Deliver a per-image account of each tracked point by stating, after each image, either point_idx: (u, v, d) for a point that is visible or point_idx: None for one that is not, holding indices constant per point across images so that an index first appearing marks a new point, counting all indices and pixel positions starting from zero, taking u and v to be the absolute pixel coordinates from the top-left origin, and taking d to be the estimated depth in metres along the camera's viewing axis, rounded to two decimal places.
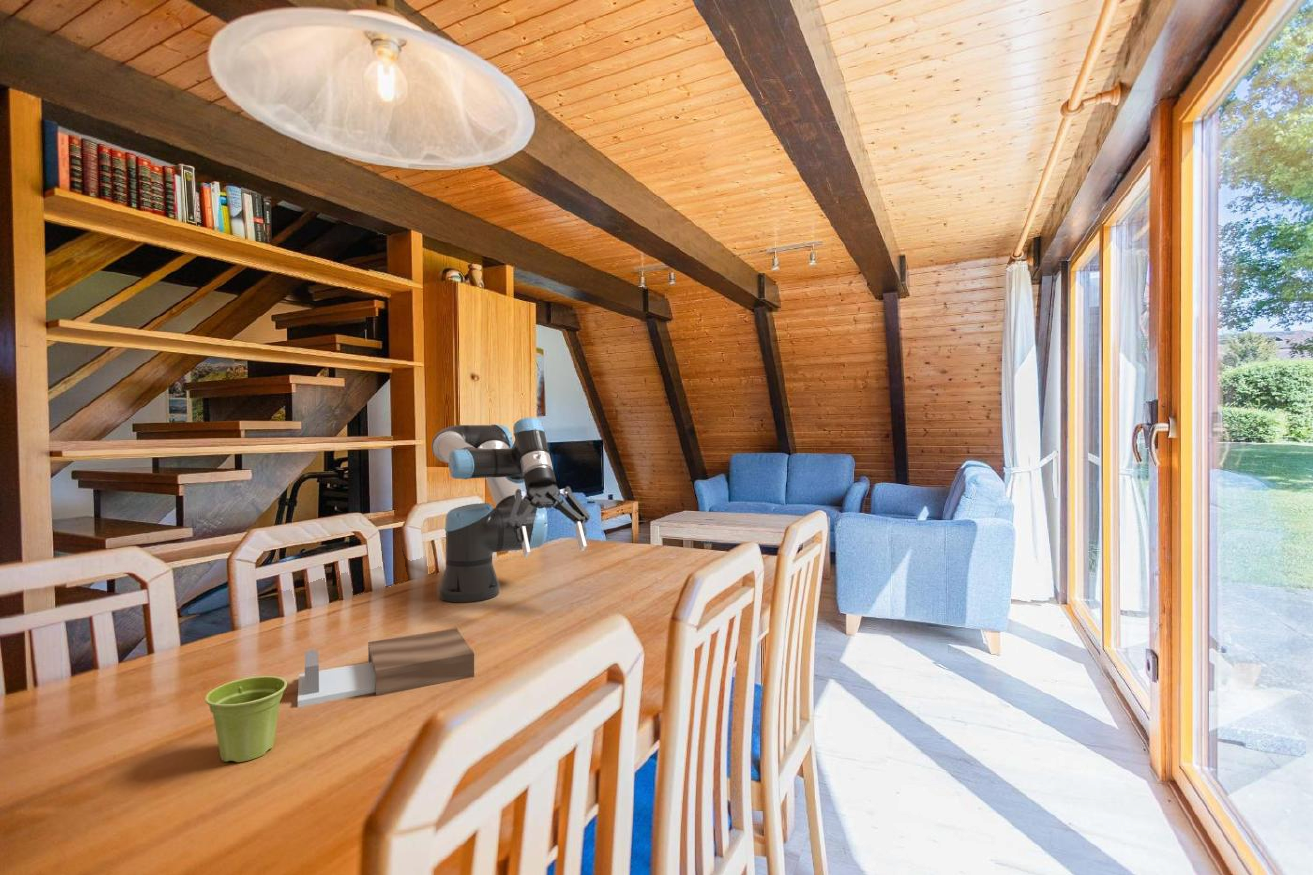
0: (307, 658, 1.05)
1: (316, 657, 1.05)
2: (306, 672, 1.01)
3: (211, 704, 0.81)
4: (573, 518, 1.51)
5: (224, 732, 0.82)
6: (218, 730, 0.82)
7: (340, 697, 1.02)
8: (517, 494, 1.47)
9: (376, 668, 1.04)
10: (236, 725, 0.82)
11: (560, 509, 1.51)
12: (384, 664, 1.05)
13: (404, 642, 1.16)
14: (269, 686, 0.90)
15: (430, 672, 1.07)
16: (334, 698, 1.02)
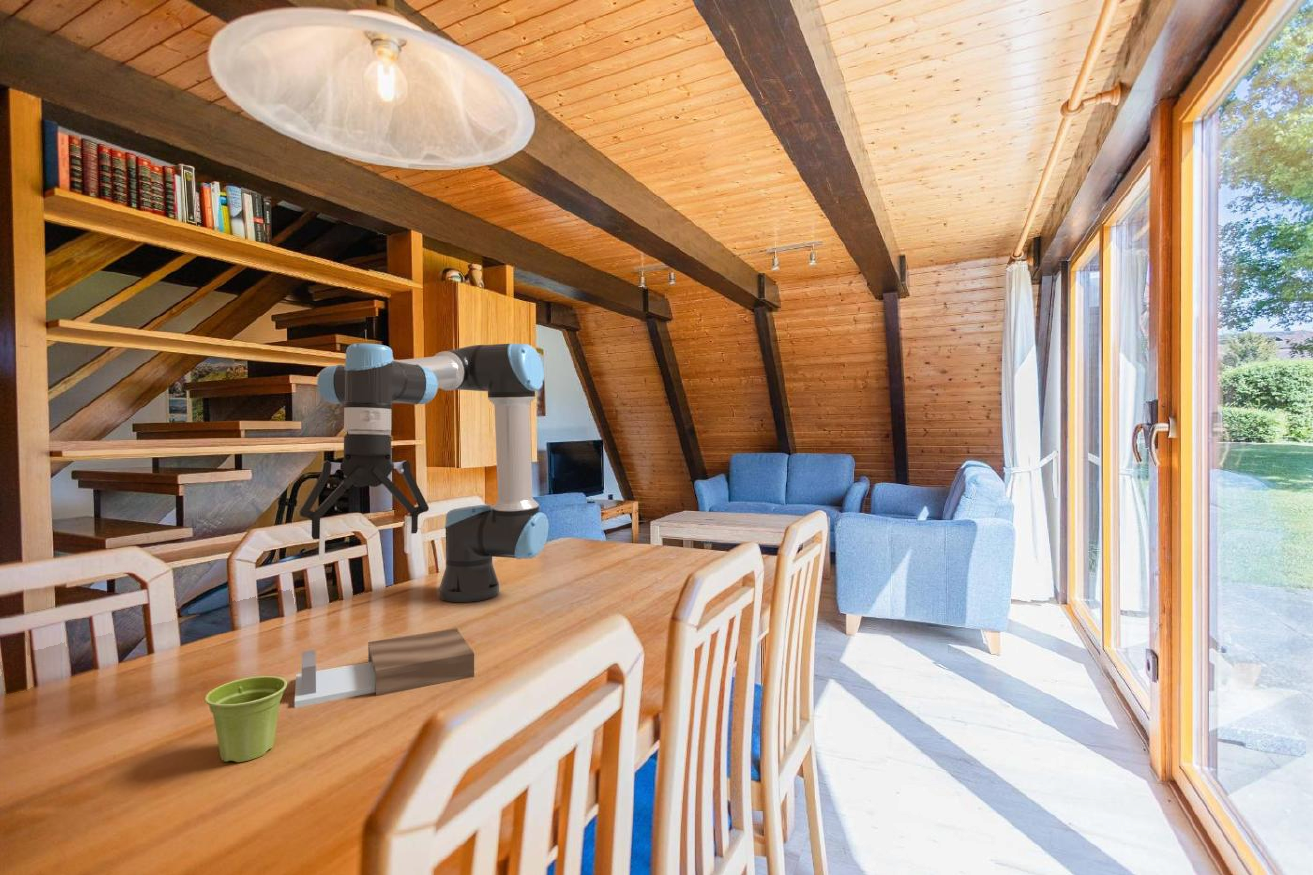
0: (304, 659, 1.05)
1: (313, 657, 1.05)
2: (303, 673, 1.01)
3: (211, 704, 0.81)
4: None
5: (224, 732, 0.82)
6: (218, 730, 0.82)
7: (337, 698, 1.02)
8: (324, 469, 1.04)
9: (376, 668, 1.04)
10: (237, 725, 0.82)
11: None
12: (384, 664, 1.05)
13: (404, 642, 1.16)
14: (269, 686, 0.90)
15: (430, 672, 1.07)
16: (331, 699, 1.01)
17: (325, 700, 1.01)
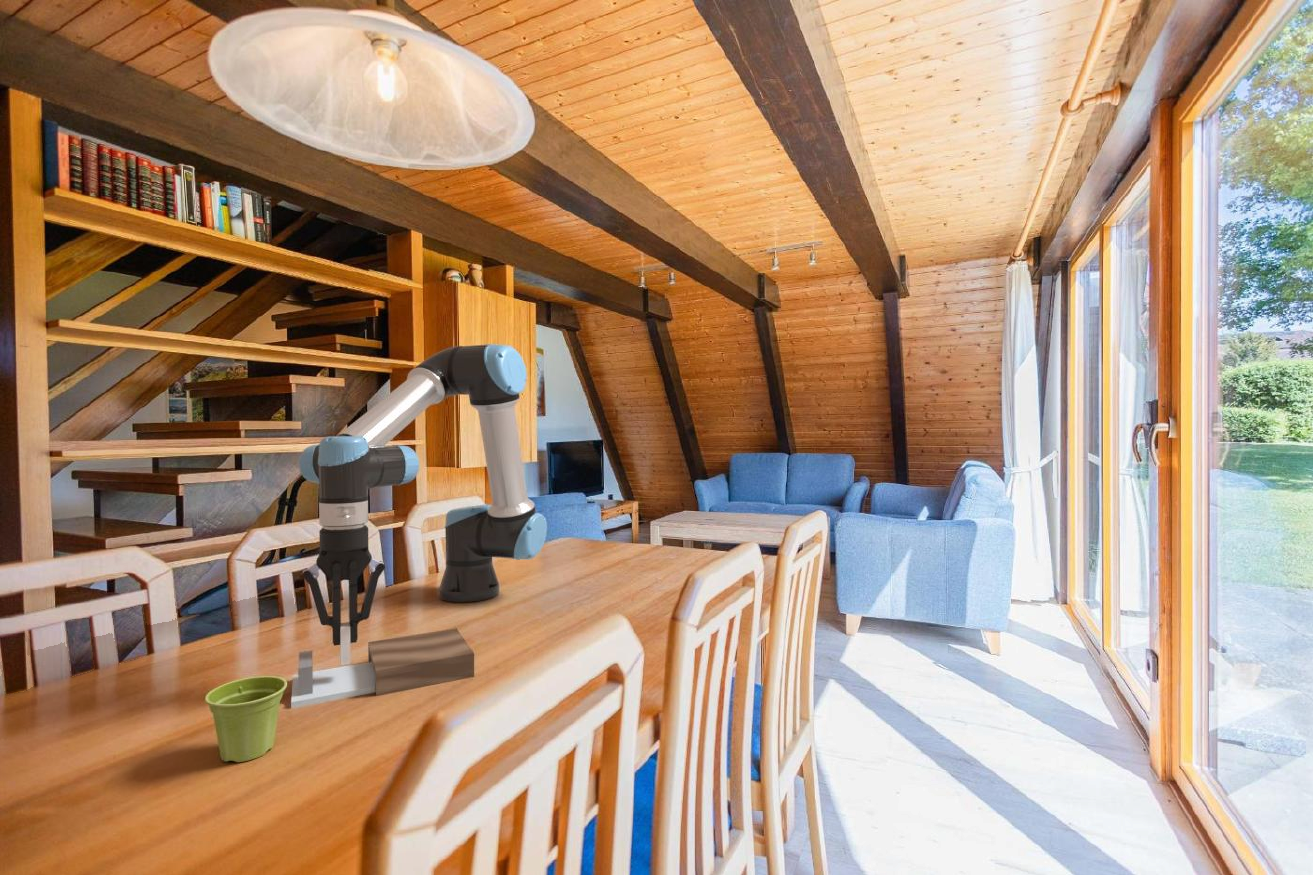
0: (301, 659, 1.04)
1: (310, 658, 1.05)
2: (300, 673, 1.01)
3: (211, 704, 0.81)
4: (349, 610, 1.08)
5: (224, 732, 0.82)
6: (218, 730, 0.82)
7: (334, 698, 1.02)
8: (307, 580, 1.03)
9: (376, 668, 1.04)
10: (237, 725, 0.82)
11: None
12: (384, 664, 1.05)
13: (404, 642, 1.16)
14: (269, 686, 0.90)
15: (430, 672, 1.07)
16: (328, 699, 1.01)
17: (322, 701, 1.01)
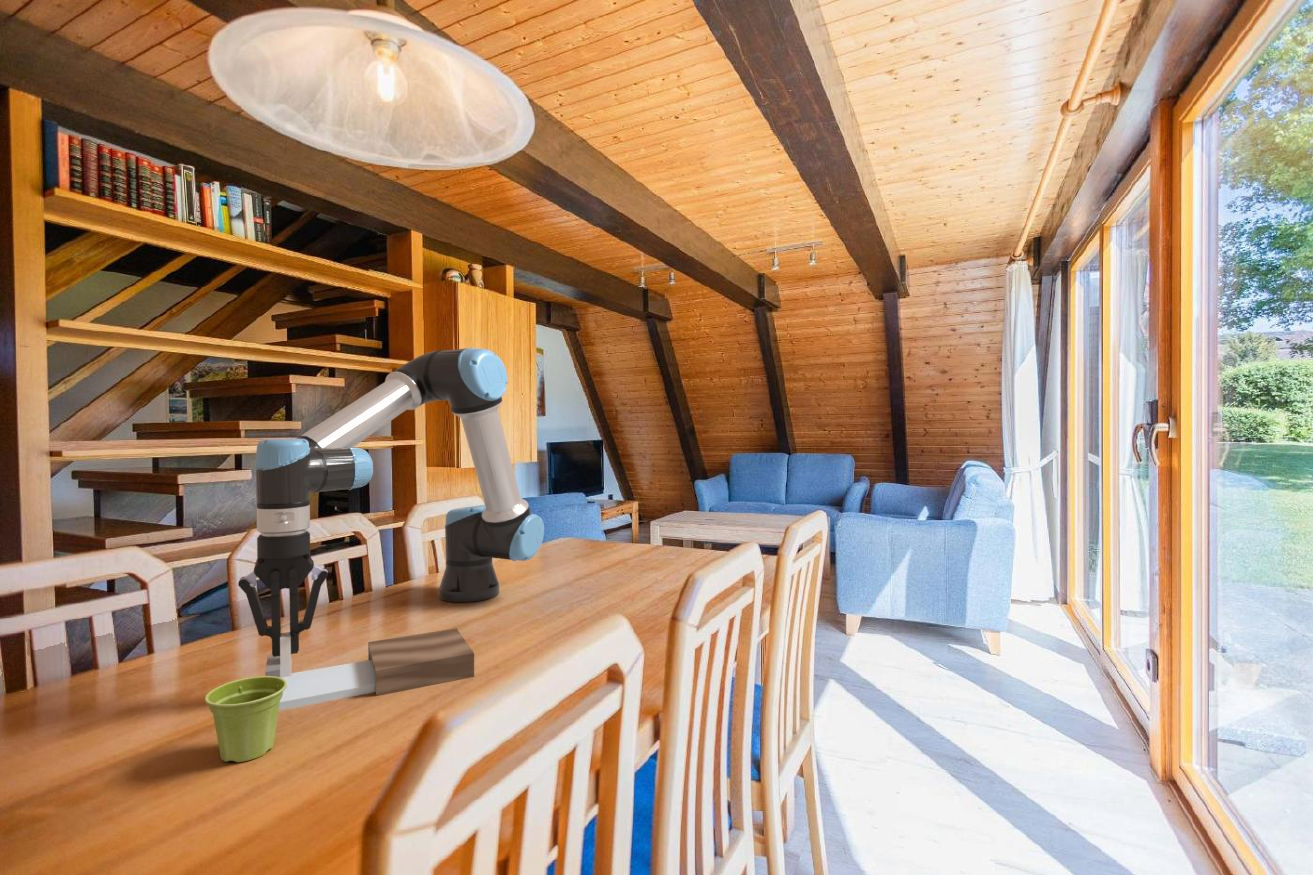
0: (269, 662, 1.02)
1: (278, 661, 1.03)
2: None
3: (211, 704, 0.81)
4: None
5: (224, 732, 0.82)
6: (218, 730, 0.82)
7: (302, 702, 0.99)
8: (244, 589, 0.99)
9: (376, 668, 1.04)
10: (236, 725, 0.82)
11: None
12: (384, 664, 1.05)
13: (404, 642, 1.16)
14: (269, 686, 0.90)
15: (430, 672, 1.07)
16: (296, 703, 0.99)
17: (289, 705, 0.99)
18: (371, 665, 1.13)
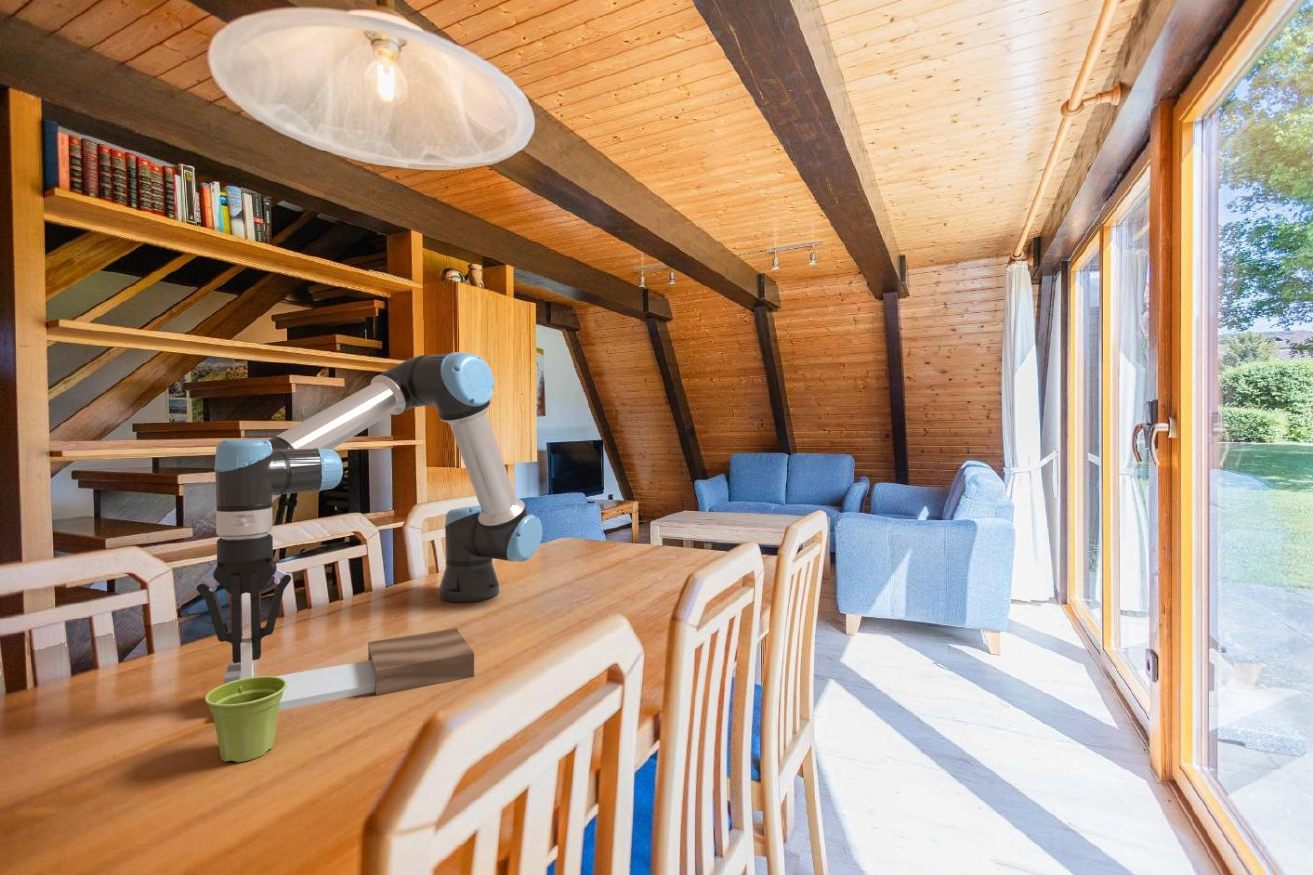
0: (230, 669, 1.00)
1: (239, 667, 1.00)
2: None
3: (211, 704, 0.81)
4: None
5: (224, 732, 0.82)
6: (218, 730, 0.82)
7: None
8: (202, 594, 0.96)
9: (376, 668, 1.04)
10: (237, 725, 0.82)
11: None
12: (384, 664, 1.05)
13: (404, 642, 1.16)
14: (269, 686, 0.90)
15: (430, 672, 1.07)
16: None
17: None
18: (338, 671, 1.10)
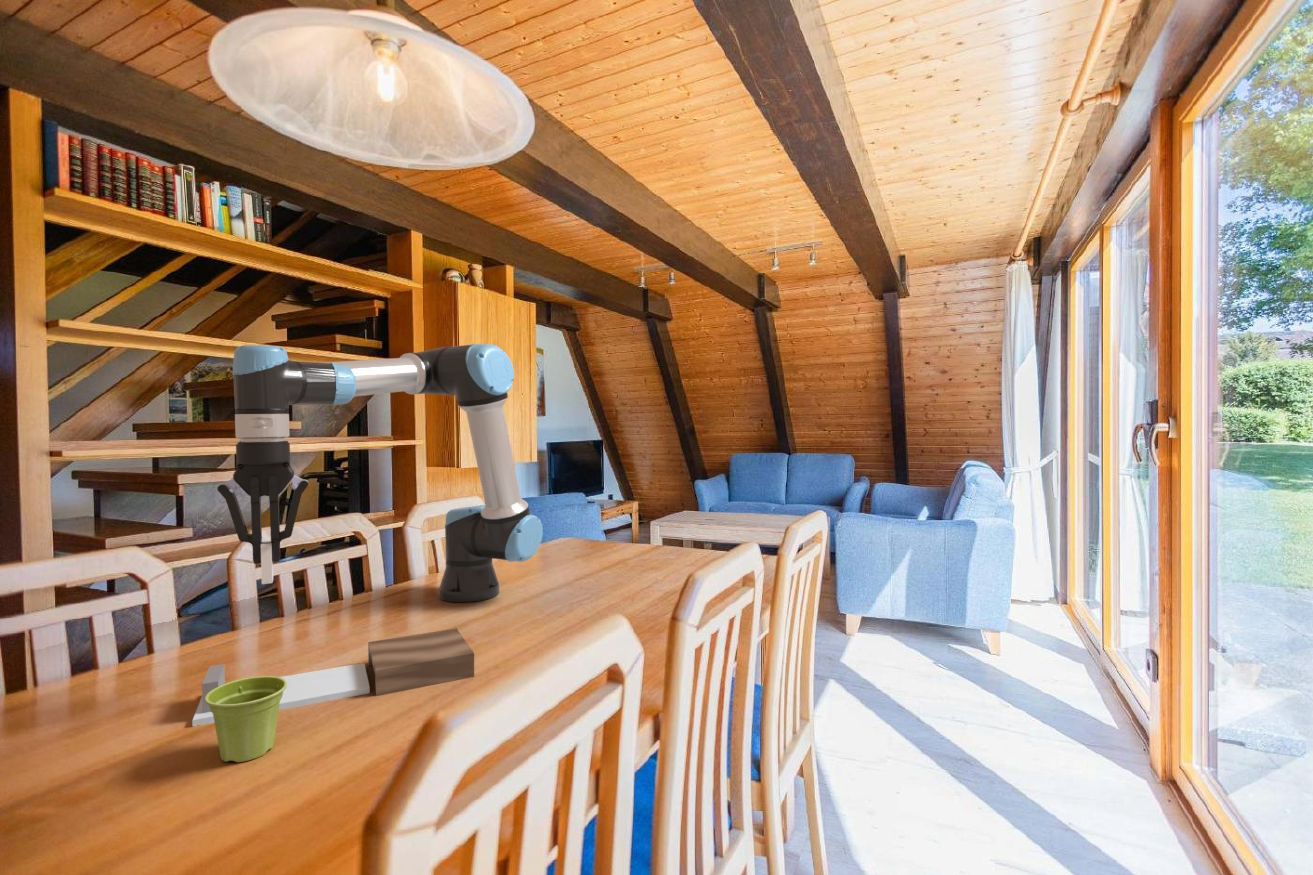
0: (209, 674, 0.98)
1: (219, 672, 0.99)
2: (204, 689, 0.95)
3: (211, 704, 0.81)
4: None
5: (224, 732, 0.82)
6: (218, 730, 0.82)
7: None
8: (223, 494, 0.99)
9: (376, 668, 1.04)
10: (236, 725, 0.82)
11: None
12: (384, 664, 1.05)
13: (404, 642, 1.16)
14: (269, 686, 0.90)
15: (430, 672, 1.07)
16: None
17: None
18: (320, 675, 1.09)
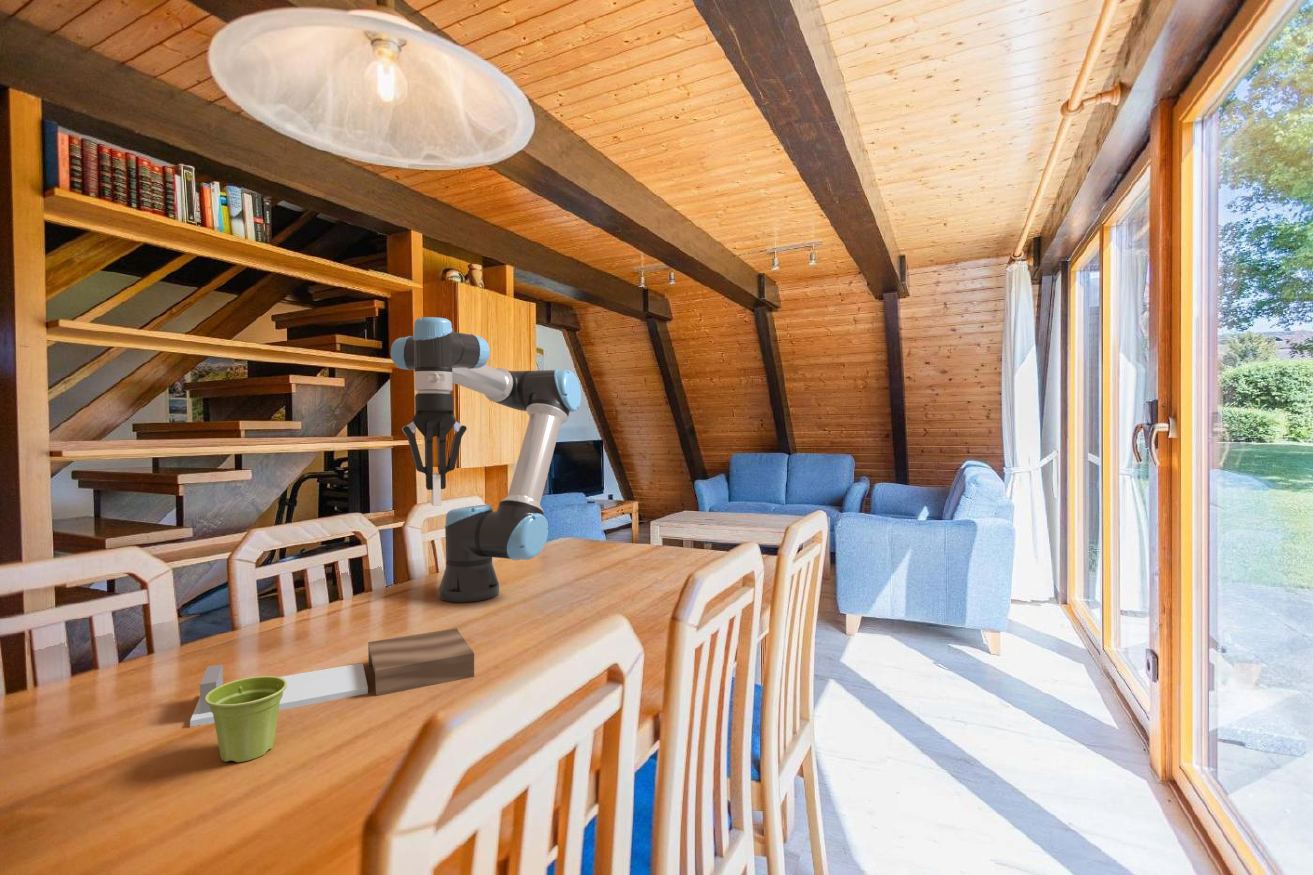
0: (207, 674, 0.98)
1: (217, 673, 0.99)
2: (202, 689, 0.95)
3: (211, 704, 0.81)
4: (438, 462, 1.31)
5: (224, 732, 0.82)
6: (218, 730, 0.82)
7: None
8: (407, 434, 1.27)
9: (376, 668, 1.04)
10: (237, 725, 0.82)
11: (438, 444, 1.31)
12: (384, 664, 1.05)
13: (404, 642, 1.16)
14: (269, 686, 0.90)
15: (430, 672, 1.07)
16: None
17: None
18: (318, 676, 1.09)
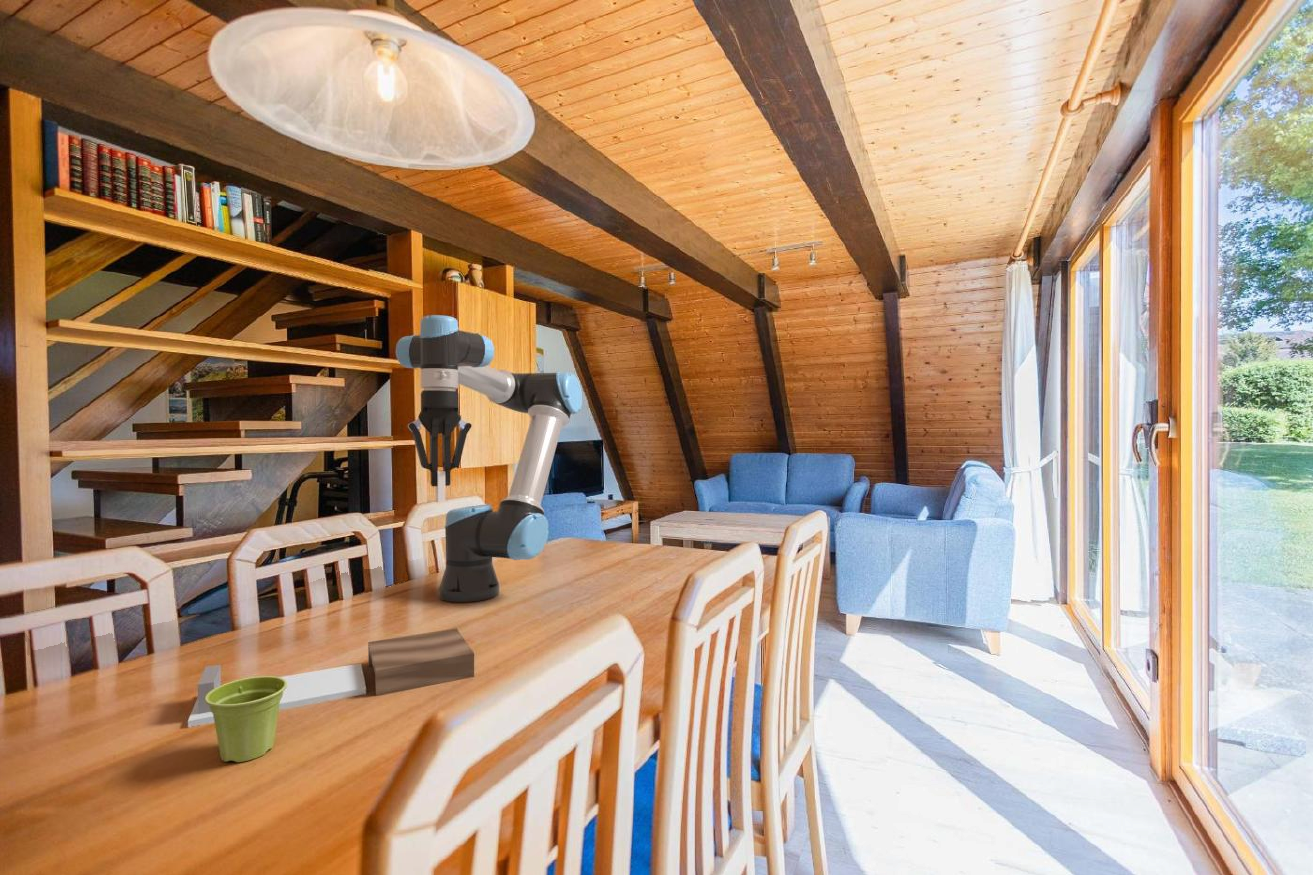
0: (205, 674, 0.98)
1: (215, 673, 0.99)
2: (199, 690, 0.95)
3: (211, 704, 0.81)
4: (443, 459, 1.32)
5: (224, 732, 0.82)
6: (218, 730, 0.82)
7: None
8: (413, 430, 1.28)
9: (376, 668, 1.04)
10: (237, 725, 0.82)
11: (443, 441, 1.32)
12: (384, 664, 1.05)
13: (404, 642, 1.16)
14: (269, 686, 0.90)
15: (430, 672, 1.07)
16: None
17: None
18: (317, 676, 1.08)
